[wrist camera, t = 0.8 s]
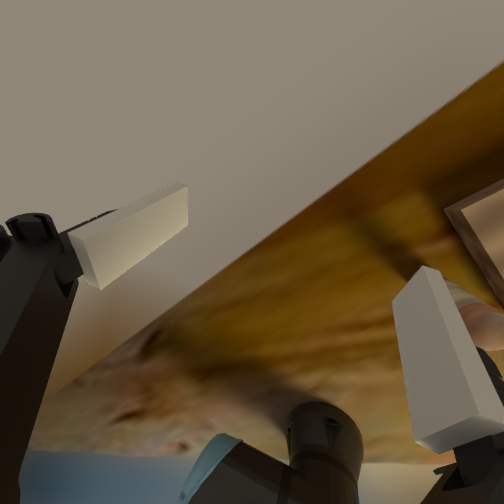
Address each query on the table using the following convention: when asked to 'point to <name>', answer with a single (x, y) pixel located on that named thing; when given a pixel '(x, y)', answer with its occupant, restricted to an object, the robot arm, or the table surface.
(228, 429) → the table surface
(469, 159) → the table surface
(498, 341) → the dowel
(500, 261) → the square peg hole block
